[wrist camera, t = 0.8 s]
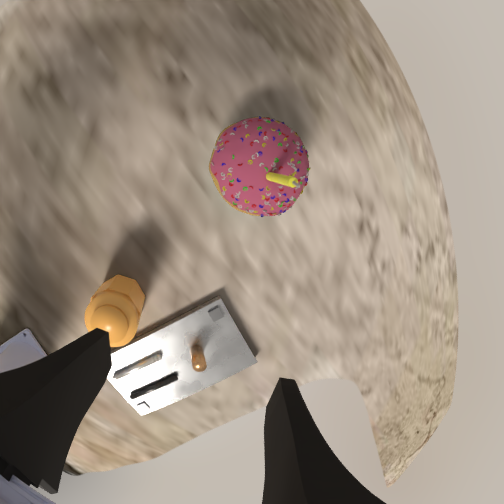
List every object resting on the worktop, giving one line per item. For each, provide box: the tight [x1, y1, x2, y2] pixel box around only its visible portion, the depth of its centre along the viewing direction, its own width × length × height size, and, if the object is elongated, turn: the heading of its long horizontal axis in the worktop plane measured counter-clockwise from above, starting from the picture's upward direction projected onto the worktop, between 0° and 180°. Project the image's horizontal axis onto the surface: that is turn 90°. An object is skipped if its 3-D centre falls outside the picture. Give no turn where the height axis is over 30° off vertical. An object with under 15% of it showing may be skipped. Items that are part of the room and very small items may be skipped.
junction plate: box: [107, 295, 257, 416], centre depth 26 cm, size 16×9×4 cm, turn 115°
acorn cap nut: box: [85, 275, 145, 347], centre depth 22 cm, size 5×5×7 cm
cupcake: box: [209, 116, 310, 217], centre depth 21 cm, size 9×8×12 cm
